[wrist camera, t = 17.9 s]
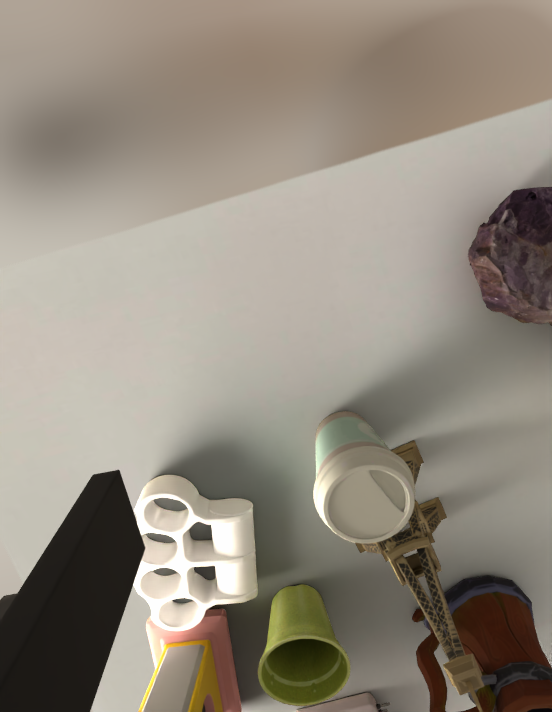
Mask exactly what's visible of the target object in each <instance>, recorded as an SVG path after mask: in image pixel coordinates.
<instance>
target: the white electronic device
mask: <svg viewBox="0 0 552 712" xmlns="http://www.w3.org/2000/svg"><path fill="white" fill-rule="evenodd" d="M388 705H390V702H388V703H384V704H377V703H376V701H375V699H374V697H373V696H372V694H370V693H363V694H359V695H355V696H351V697H347V698H343V699H339V700H335V701H332V702H328V703H324V704H320V705H316V706H312V707H308V708H303V709H299V710H296V712H387V711H388V710H387V709H384V710H381V709H380V708H381V707H384V706H388Z"/></svg>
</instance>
